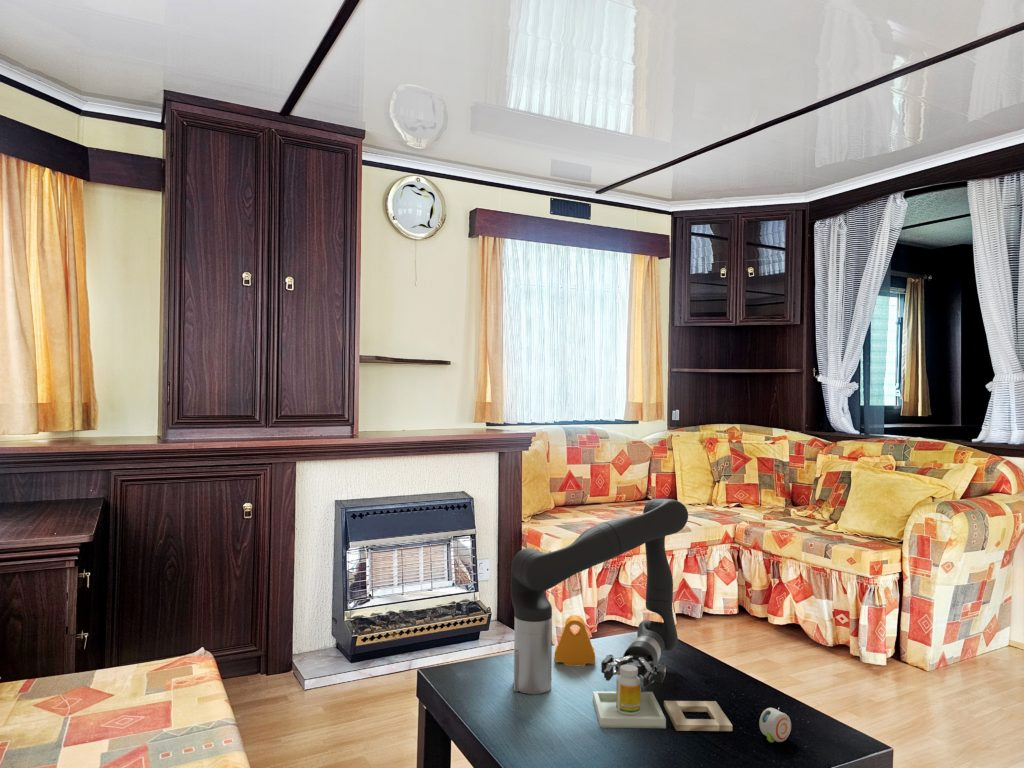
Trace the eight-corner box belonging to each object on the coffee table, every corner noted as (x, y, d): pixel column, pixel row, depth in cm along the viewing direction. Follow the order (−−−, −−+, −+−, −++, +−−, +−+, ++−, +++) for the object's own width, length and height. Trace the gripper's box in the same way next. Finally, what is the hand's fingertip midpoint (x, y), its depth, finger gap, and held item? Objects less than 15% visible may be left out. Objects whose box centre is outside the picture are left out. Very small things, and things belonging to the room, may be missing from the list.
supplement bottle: (611, 708, 157) (612, 665, 157) (630, 704, 159) (631, 661, 160) (625, 717, 152) (625, 673, 153) (645, 713, 155) (645, 669, 155)
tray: (600, 727, 149) (600, 718, 149) (593, 699, 163) (593, 691, 163) (665, 728, 149) (665, 718, 149) (652, 700, 163) (652, 691, 163)
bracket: (594, 656, 191) (594, 612, 191) (595, 666, 184) (595, 621, 184) (555, 655, 192) (555, 611, 192) (554, 664, 184) (554, 619, 185)
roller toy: (755, 737, 145) (755, 709, 145) (776, 730, 148) (776, 703, 149) (772, 746, 141) (772, 717, 142) (793, 739, 144) (793, 711, 145)
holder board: (676, 730, 148) (676, 724, 148) (663, 706, 160) (663, 700, 160) (732, 731, 148) (732, 725, 148) (715, 706, 160) (715, 701, 160)
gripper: (614, 636, 172) (595, 657, 157) (672, 644, 166) (657, 667, 151) (614, 666, 172) (594, 691, 157) (672, 676, 166) (657, 702, 151)
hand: (625, 679), depth 154 cm, fingers open, 8 cm apart
